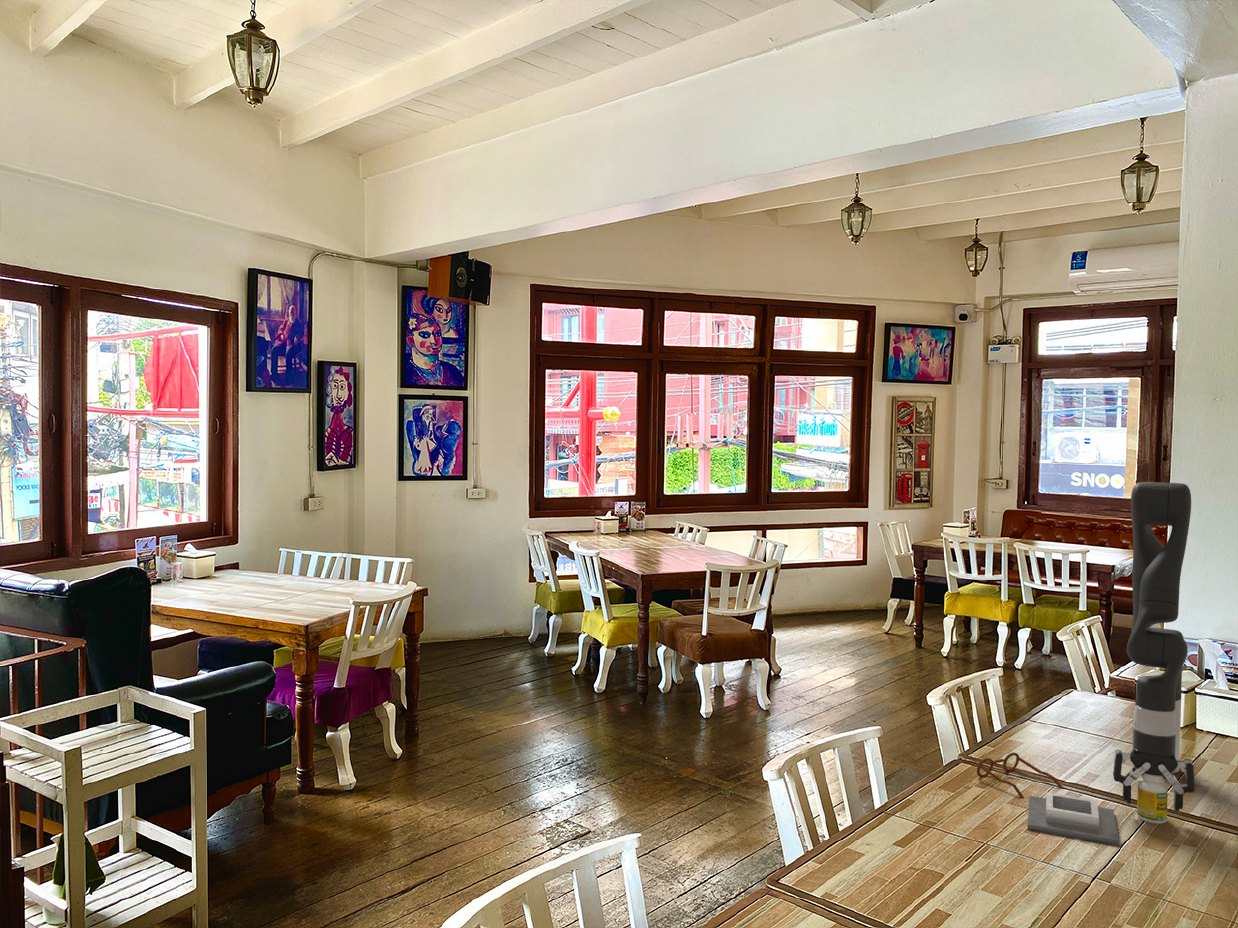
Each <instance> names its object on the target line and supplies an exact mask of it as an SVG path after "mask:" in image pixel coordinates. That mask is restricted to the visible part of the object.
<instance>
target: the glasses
mask: <svg viewBox="0 0 1238 928" xmlns="http://www.w3.org/2000/svg"><path fill="white" fill-rule="evenodd" d="M1011 757H1016V759H1015V763H1014V764H1013V766H1012V767H1009V768H1007V762H1008V760H1010V758H1011ZM986 762H989V763H990V765H989V769H987V768H986V767H984V766H983V764H984V763H986ZM1019 762H1021V763H1023V765H1026V767H1028V768H1030V769H1032V770H1033V771H1035V772H1037V773H1038V774H1041V775H1043V776H1046V777H1048V778H1050V779H1051V780H1052V781H1053V782H1054V783H1055V784H1056V785H1057V787H1058V788H1060V789H1062V790H1064V789H1065V788H1064V786H1063V785H1062V784H1061V783H1060V782H1059V780H1058V779H1056V777H1055V776H1053V774H1050V773H1049V772H1046V771H1042V770H1040V769H1039V768H1038V767H1036V766H1035V765H1033V764H1031V763H1030V762H1028V761H1026V760H1025V759H1023V758H1021V757H1020V756H1019V754H1018V753H1017V752H1010V753H1009V754H1007V755H1006V756H1005V757H1004V759H1003V758H1000V759H995V760H993V759H992V758H990V757H985V758H983V759H981V761H980V762H979V763H978V765H977V768H976V775H977V776H978V777H980V778H985V777H988V776H989V775H990V776H991V777H993V778H994V779H995V780H997V781H998V782H1000V783H1003V784H1007V785H1009V786H1011V787H1012V788H1013V789H1014V790H1015V791H1016V793H1017V794H1018V796H1019V797H1020V798H1021V799H1025V797H1024V795H1023V794H1022V792H1021V791H1020V789H1019V787H1018V786H1017V785H1016V784H1015V783H1013V782H1011V781H1010V780H1006V779H1002V778H1001V777H1000V776H998V775H996V774H995V773H994V772H992V771H993V767H994V766H995V764H998V763H999V764H1000V763H1003V765H1002V766H1003V767H1002V768H1003V770H1004V771H1006V772H1013V771H1014V770H1015V769H1016V768H1017V767H1018V765H1019ZM981 770H982V771H984V772H985V773H983V774H982V773H981ZM1012 770H1013V771H1012Z"/></svg>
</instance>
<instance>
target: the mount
mask: <svg viewBox="0 0 1238 928" xmlns="http://www.w3.org/2000/svg"><path fill="white" fill-rule="evenodd" d="M1045 794H1046V795H1045V797H1046V798H1045V797H1041V796H1034V795H1029V796H1028V811H1027V812H1028V813H1027V830H1030V831H1035V832H1042V833H1045V834H1046V833H1047V834H1052V835H1057V836H1062V837H1069V838H1075V839H1079V840H1085V841H1091V842H1096V843H1101V844H1102V843H1103V844H1107V845H1113V846H1120V839H1119V833H1118V826H1117V822H1116V817H1115V816H1116V815H1115V810H1114V809H1112V808H1107V807H1101V806H1098V800H1096V799H1089V798H1083V797H1077V796H1072V795H1065V794H1060V793H1059V794H1058V793H1055V792H1054V793H1053V792H1046V793H1045Z"/></svg>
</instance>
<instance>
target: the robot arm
mask: <svg viewBox="0 0 1238 928" xmlns="http://www.w3.org/2000/svg"><path fill="white" fill-rule="evenodd" d="M1130 512H1131V513H1130V515H1131V526H1132V527H1131V528H1132V542H1133V543H1132V544H1133V547H1132V548H1133V550H1132V551H1133V553H1132V571H1131V572H1132V573H1131V576H1132V577H1131V579H1132V580H1131V584H1132V585H1131V586H1132V603H1133V604H1132V607H1133V608H1132V623H1131V633H1130V635H1129V638H1128V640H1127V644H1126V653H1127V656H1128V658H1129V659H1130V660H1131V661H1132V662H1133V663H1134V664H1137V665H1139V666H1145V667H1154V668H1160V669H1165V671H1164V672H1163V673H1161V674H1154V675H1144V676H1140V677H1138V678H1137V680H1136V684H1135V704H1134V705H1135V707H1134V712H1133V722H1132V724H1133V730H1132V731H1133V732H1132V751H1131V753H1129V752H1122V751H1121V750H1120V749H1116V750H1115V754H1114V760H1113V761H1114V762H1113V772H1112V775H1113V780H1114V782H1119V783H1120V784H1122V798H1123V800H1124V801H1126V804H1128V805H1131V804H1132V785H1131V784H1133V783H1134V782H1135V781H1137V780H1138V779H1139V778H1140V777H1141V776H1143V775H1144V774H1150V775H1158V776H1163V778H1164V780H1165V779H1166V780H1167V781H1168V783H1169V784H1170V785H1171V787H1173V789H1174V790H1173V792H1174V793H1173V809H1174V812H1180V810H1183V807H1184V795H1185V794H1187V793H1194V792H1195V773H1194V764H1193V762H1192V760H1190V759H1185V760H1180V759H1181V758H1180V755H1181V727H1182V724H1181V723H1182V722H1181V721H1182V719H1181V718H1182V682H1183V681H1182V679H1183V677H1182V676H1183V667H1184V664H1185V661H1186V659H1187V655H1188V651H1189V649H1188V645H1187V642H1186V640H1185V639H1184V635H1183V633H1182V632H1181V631H1180V630H1178V629H1177V630H1176V629H1170V628H1160V627H1153V626H1155V625H1157V624H1164V623H1165V624H1167V623H1172V622H1175V621H1176V620H1178V617H1179V605H1180V588H1181V587H1180V585H1181V576H1182V568H1183V563H1184V558H1185V553H1186V548H1187V541H1188V536H1189V529H1190V522H1191V514H1192V494H1191V490H1190V487H1189V485H1187V484H1186V483H1181V482H1179V483H1178V482H1159V481H1158V482H1156V481H1142V482H1137V483H1135V485H1134V486H1133V488H1132V491H1131V495H1130ZM1151 525H1153V526H1168V527H1171V530H1170V535H1169V537H1168V540H1167V542H1166V544H1165V545H1163V543H1162V542H1160V540H1159V539H1158V537H1157V536H1156V535H1155V533H1154V532H1153V529H1152V526H1151ZM1128 760H1130V762H1131V763H1132V765H1133V766H1132V767H1131V768H1130V769H1129V771H1128V772H1127V773H1126V774H1125V775H1123V774H1122V767H1123V766H1122V765H1123V764H1126V763H1127V761H1128ZM1180 770H1181V771H1182V772H1183V773H1184V776H1185V777H1184V778H1185V783H1182V784H1181V783H1180V781H1178V779H1177V777H1176V776H1175V775H1174V774H1177V773H1179V772H1180Z"/></svg>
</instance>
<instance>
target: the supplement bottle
mask: <svg viewBox="0 0 1238 928" xmlns="http://www.w3.org/2000/svg"><path fill="white" fill-rule="evenodd" d="M1140 777H1141V779H1140V780H1139V781H1138V782H1137V804H1136V815H1137V817H1138V818H1139V819H1140V820H1141V821H1144V822H1145V823H1146V822H1147V823H1150V824H1155V825H1161V824H1162V825H1163V824H1165V823H1166V822H1167V820H1168V800H1169V799H1168V795H1169V794H1168V793H1169V791H1168V789H1169V787H1168V786H1167V785H1166V784H1165V783H1164V782H1165V779H1164V778H1163V776H1158V775H1150V774H1144V775H1143V776H1142V775H1141V776H1140Z"/></svg>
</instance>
